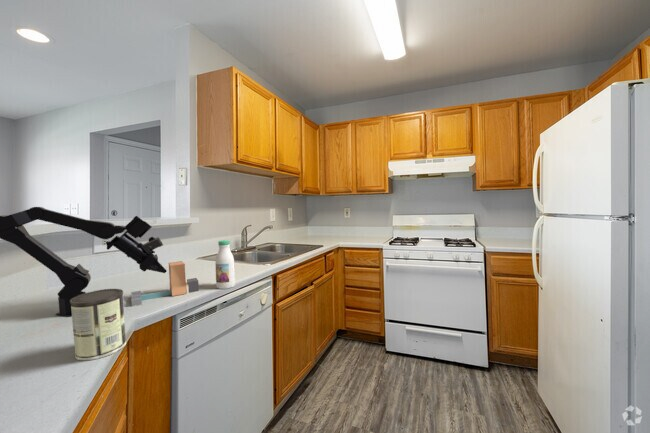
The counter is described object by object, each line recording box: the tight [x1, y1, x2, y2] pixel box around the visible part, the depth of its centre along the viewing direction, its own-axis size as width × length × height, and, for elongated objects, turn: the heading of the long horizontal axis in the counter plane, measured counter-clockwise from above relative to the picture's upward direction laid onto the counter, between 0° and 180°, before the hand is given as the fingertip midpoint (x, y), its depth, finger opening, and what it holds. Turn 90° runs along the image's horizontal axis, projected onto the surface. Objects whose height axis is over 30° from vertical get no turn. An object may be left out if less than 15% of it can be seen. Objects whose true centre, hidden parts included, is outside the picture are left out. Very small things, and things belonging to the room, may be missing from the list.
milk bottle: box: [215, 239, 236, 290], centre depth 120 cm, size 8×8×20 cm
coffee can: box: [70, 288, 127, 361], centre depth 70 cm, size 10×10×14 cm
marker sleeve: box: [168, 260, 187, 297], centre depth 113 cm, size 5×7×12 cm
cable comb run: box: [131, 277, 200, 307], centre depth 111 cm, size 23×12×4 cm, turn 125°
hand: (165, 272), depth 111 cm, fingers closed
